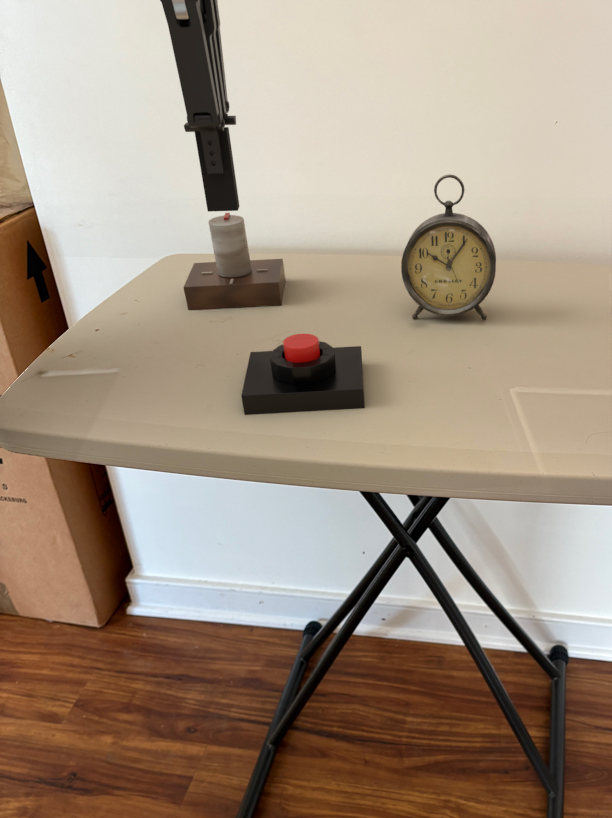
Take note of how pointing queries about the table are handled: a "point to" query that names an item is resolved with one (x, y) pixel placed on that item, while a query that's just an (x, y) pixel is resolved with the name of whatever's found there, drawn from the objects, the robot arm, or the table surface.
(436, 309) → the alarm clock
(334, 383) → the switch block
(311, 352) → the light button
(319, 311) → the table surface
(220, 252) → the dimmer knob
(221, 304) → the panel
